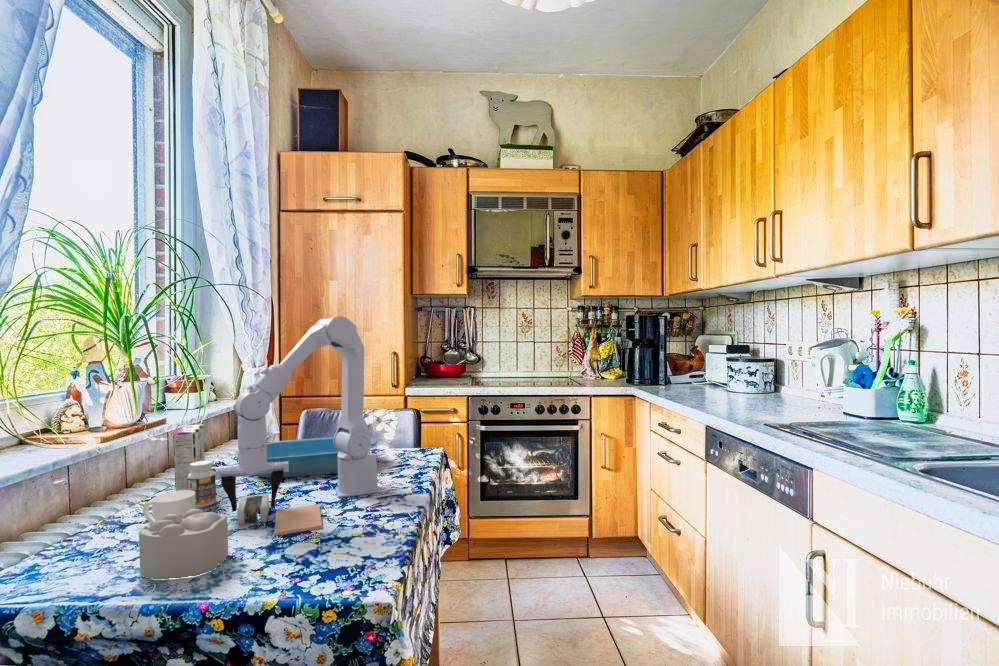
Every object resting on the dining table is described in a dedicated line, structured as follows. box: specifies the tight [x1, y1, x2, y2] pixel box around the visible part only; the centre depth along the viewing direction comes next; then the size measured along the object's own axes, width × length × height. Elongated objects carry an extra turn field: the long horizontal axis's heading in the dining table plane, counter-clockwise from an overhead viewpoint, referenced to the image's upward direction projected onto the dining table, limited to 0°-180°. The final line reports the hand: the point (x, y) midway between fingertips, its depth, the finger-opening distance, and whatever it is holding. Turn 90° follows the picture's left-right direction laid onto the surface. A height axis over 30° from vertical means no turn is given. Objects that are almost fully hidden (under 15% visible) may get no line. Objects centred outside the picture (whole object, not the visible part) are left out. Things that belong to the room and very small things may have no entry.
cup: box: [142, 490, 196, 523], centre depth 107 cm, size 8×10×7 cm
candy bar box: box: [172, 423, 206, 491], centre depth 131 cm, size 11×5×16 cm, turn 20°
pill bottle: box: [187, 460, 217, 509], centre depth 121 cm, size 6×6×10 cm
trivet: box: [273, 503, 323, 537], centre depth 110 cm, size 9×14×1 cm, turn 22°
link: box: [236, 492, 270, 527], centre depth 113 cm, size 6×10×3 cm, turn 22°
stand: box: [247, 501, 259, 524], centre depth 109 cm, size 2×2×4 cm
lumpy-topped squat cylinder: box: [138, 508, 229, 579], centre depth 89 cm, size 10×13×9 cm
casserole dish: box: [257, 436, 378, 479], centre depth 152 cm, size 37×22×7 cm, turn 102°
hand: (254, 507), depth 113 cm, fingers open, 7 cm apart
